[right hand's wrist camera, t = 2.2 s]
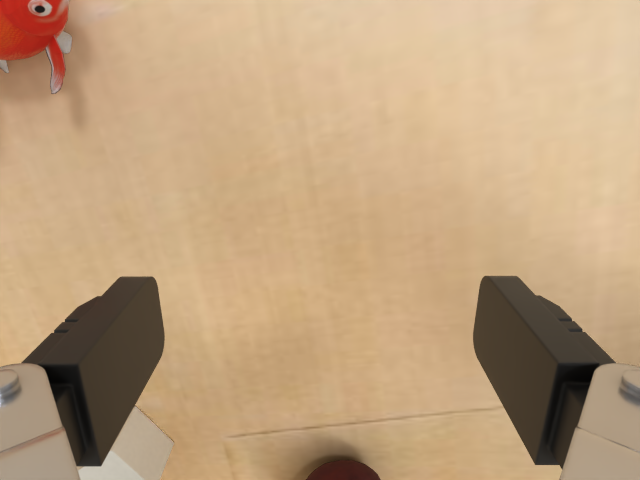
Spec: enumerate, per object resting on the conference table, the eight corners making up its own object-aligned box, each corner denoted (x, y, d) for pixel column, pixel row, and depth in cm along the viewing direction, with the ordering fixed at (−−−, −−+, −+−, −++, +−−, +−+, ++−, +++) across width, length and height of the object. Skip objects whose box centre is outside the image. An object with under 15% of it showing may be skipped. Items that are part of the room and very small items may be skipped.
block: (174, 442, 40) (156, 490, 36) (139, 463, 41) (117, 512, 37) (135, 405, 39) (111, 450, 34) (100, 428, 40) (71, 474, 35)
